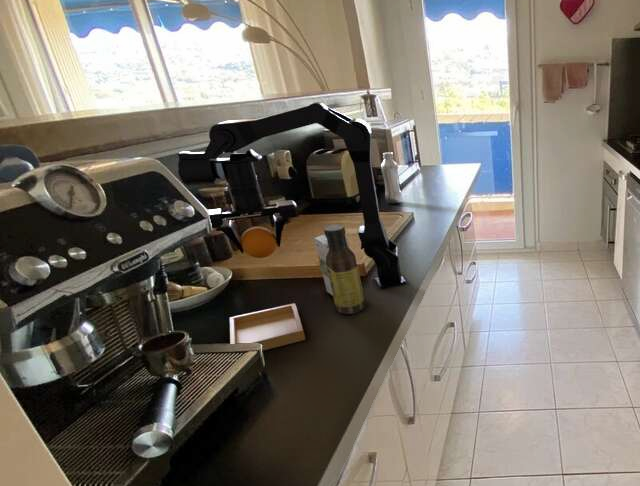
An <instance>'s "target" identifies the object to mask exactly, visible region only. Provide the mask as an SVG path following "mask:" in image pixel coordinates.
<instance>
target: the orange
mask: <svg viewBox="0 0 640 486" xmlns="http://www.w3.org/2000/svg"><path fill="white" fill-rule="evenodd" d="M240 242H241V246H242V248H243V251H244V253H246V254H247V255H248V256H250V257H252V258H256V259H263V258H264V259H265V258H267V257H269V256H271V255H272V254H274V252H275V251H276V250H277V248H278V245H277V241H276V234H274V233H273V232H272V231H271V229H268V228H266V227H262V226H253V227H250V228H247V230H245V231H244V232H243V233H242V234H241V237H240Z"/></svg>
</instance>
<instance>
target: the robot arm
mask: <svg viewBox="0 0 640 486" xmlns="http://www.w3.org/2000/svg"><path fill="white" fill-rule="evenodd" d="M315 124H317V125H319V126H321V127H323V128H325V129H326V130H327V131H329V132H330V133H332V134H334V135H336V136H338V137H340V138H341V139H342V140H343V142H344V145H345V147H346V150H347V153H348V155H349V157H350V160H351V162H352V164H353V168H354V173H355V179H356V185H357V190H358V195H359V200H360V207H361V212H362V216H363V217H362V218H363V225H359V227H358V232H357V235H358V238H359V240H360V250H361V251H362V250H363V252H364V254H365V256H366V257H367V258H369V259H371V260H373V262H374V264H375V266H376V273H377V277H374V281H375V282H376V283H377V285H378V286H379V288H380V289H386V288H390V287H395V286H399V285H403V284H406V283H407V280H406V279H405V278H404V276H402V271H401V264H400V263H401V262H400V258H399V245H398V244H396V243H395V242H393V241H392V240H391V239H389V235H388V233H387V229H386V227H385V225H384V223H383V221H382V219H381V215H380V207H379V201H378V197H377V190H376V184H375V179H374V173H373V167H372V166H373V165H372V134H373V133H372V129H371V126H370V125H369V123H368V122H366V121H365V120H363V119H361V118H351V117H349V116H347V115H346V114H343V113H341V112H339V111H337V110H335V109H332V108H331V107H329V106H327V105H325V104H324V103H322V102H321V101H320V102H319V101H316V102H313V103H310V104H309V105H306V106H301V107H298V108H294V109H290V110H287V111H283V112H279V113H276V114H271V115H267V116H264V117H260V118H246V119H244V118H243V119H233V120H232V119H231V120H226V121H222V122H219V123H216V124H214V125H212V126H211V127H210V129H209V132H208V138H209V140H210V141H209V143H208V145H207V146H206V149H205V151H195V152H194V151H181V152H178V153H177V157H178V162H177V164H178V165H177V168H178V171H177V173H178V176H179V179H180V180H181V182H182V183H183V184H184V186H206V185H218V184H220V182H221V180H223V179H224V178H225V181H226V185H227V188H228V189H226V190H223V195H224V199H225V202H226V204H227V206H233V209H234V210H233V211H225V212H223V210H222V208H213V209H207V210H208V212H209V215H210V219H211V223H212V228H211V229H215V231H216V232H222V233H223V234H224V235H225V236H226V237H227V238H229V240H230V241H231V242H232V244H234V245H235V247H236V248H237V249H238V251H240V253H241V254H244V253H245V251H244V250H243V248H242V246H241V239H240V238H239V236H238V233H237V230H236V229H235V226H234V224H233V221H238V220H247V219H253V218H262V217H269V216H272V217H273V223H274V233H275V234H274V235H275V237H276V241H277V248H280V247H281V242H282V235H283V231H284V226H285V224H286V223H288V222H290V219H291V218H298V217H300V213H299V209H298V206H297V203H296V202H295V201H294V200H293V199H289V200H282V201H281V200H279V201H275V203H276V205H274V206H265V202H264V200H263V196H262V193H261V189H260V185H259V182H258V178H257V175H256V171H255V166H254V163H257V162H259V161H261V160H262V159H263V156H262V155H261V154H259V153H257V152H256V151H254V150H253V149H252V148H249V149H247V151H246V152H240V153H239V152H237V151H239V150H241V149H242V148H245V147H247V146H249V145H251V144H253V143H256V142H258V141H260V140H261V139H263V138H267V137H270V136H275V135H278V134H281V133H285V132H289V131H293V130H297V129H299V128H303V127H307V126H311V125H315ZM227 153H229V154H230V153H231V154H230V155H229V157H222V156H223V155H226V154H227Z"/></svg>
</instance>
